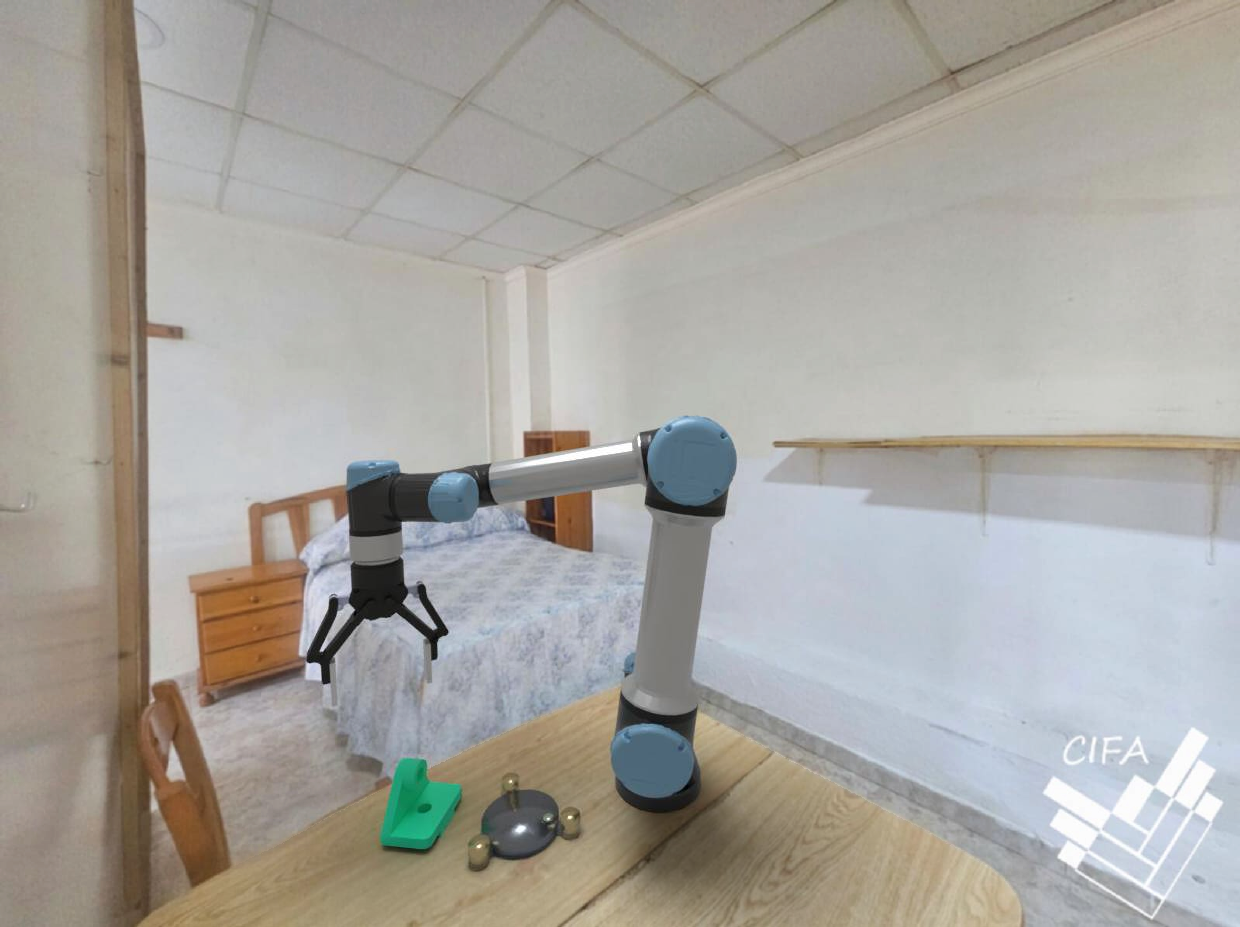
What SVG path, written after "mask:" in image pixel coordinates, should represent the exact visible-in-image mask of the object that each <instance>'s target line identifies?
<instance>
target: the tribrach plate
mask: <svg viewBox="0 0 1240 927" xmlns="http://www.w3.org/2000/svg"><path fill="white" fill-rule="evenodd" d="M500 781H501V782H500V783H501V786H500V788H501V795H500V796H499V797H498V798H496V799H494V801H492V802H491V803H490V804H489V805H488V806H487V808H485V811H484V812H483V814H482V816H481V819H480V820H481V821H480V822H481V823H480V832H481V833H480V834H477V835H475V836H473V837H472V838H470V839H469V841H468V844H467V845H468V846H467V847H468V848H467V852H468V854H467V856H468V867H469V869H470V870H471V871H473V872H479V871H480V872H481V871H483V870H485V869H486V868H487V867H488V866H489V865H490V863H491V859H492V858H493V857H497V858H499V859H503V860H509V861H510V860H511V861H512V860H513V861H514V860H522V859H523V860H524V859H526V858H527V859H528V858H530V857H532V856H534V855H538V854H539V853H541V852H543V850H545V849H547V848H548V847H549V846H550V845H551V844H552V843H553V842H554V841H555V838H556V837H557V836H561V837H562V838H563V839H565V840H568V841H570V840H571V841H572V840H575V839H577V838H578V837H579V836H580V835H581V812H580V810H579V808H577V807H575V806H569V807H568V806H567V807H565V808H563V809H562V810H561V812H560V810H559V805H558V803H557V801H556V800H555V798H553V797H552V796H551V795H549V794H548V793H546V792H544V791H542V790H537V789H530V788H529V789H528V788H527V789H520V776H519V774H518V773H516V772H507V773H506V774H503V776H501V779H500Z"/></svg>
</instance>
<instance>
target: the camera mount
mask: <svg viewBox="0 0 1240 927" xmlns="http://www.w3.org/2000/svg"><path fill="white" fill-rule="evenodd" d="M427 775H428V763H427V760H426V759H422V758H410V757H403V758H402V759H400V761H399V762H398V764H397V765H396V768H395V771H394V774H393V778H392V783H391V787H390V791H389V796H388V797H389V798H388V801H387V804H386V805H387V806H386V809H385V813H384V818H383V822H382V826H381V831H380V845H381V846H389V847H398V848H399V847H400V848H405V849H406V848H408V849H409V848H410V849H418V850H427V849H429V848H430V847H431V846H433V844H434V842H435V841H436V839H437V837H442V835H443V833H444V832H445V831H446V828H447V826H448V825H449V824H450V822H451V820H452V819H453V817H454V815H455V808H456V807H457V806H458V803H459V802H460V800H461V799H462V795H463V794H462V785H461V784H459V783H449V782H437V781H430V780H429V778H428V777H427Z"/></svg>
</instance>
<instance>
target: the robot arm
mask: <svg viewBox="0 0 1240 927" xmlns="http://www.w3.org/2000/svg"><path fill="white" fill-rule="evenodd" d="M737 458H738V457H737V450H736V448H735V443H734V441H733V439H732V438H731V436H730V434H729V433H728V432H727V430H726V429H725V428H723V426H721V425H720V424H719V423H718V422H716V421H715V420H712V419H711V418H709V417H705V416H700V415H687V414H686V415H682V416H678V417H676V418H673V419H671V420H670V421H667V423H665V424H664V425H662V426H661V427H658V428H655V429H651V430H644V431H639V432H638V433H636V435H635V436H634V438H632V439H627V440H626V439H625V440H621V441H615V442H610V443H603V444H597V445H591V446H585V447H579V448H574V449H566V450H562V451H561V450H560V451H555V452H549V453H543V454H537V455H532V456H531V455H530V456H525V457H519V458H513V459H505V460H501V461H495V462H489V463H484V464H482V463H481V464H473V465H468V466H463V467H459V468H453V469H450V470H444V471H438V472H424V473H423V472H422V473H421V472H419V473H407V472H401V468H400V464H399V462H398V461H397V460H394V459H393V460H392V459H390V460H389V459H378V460H377V459H373V460H370V459H369V460H358V461H353V462H351V463H349V464H348V466H347V467H346V489H345V493H346V494H345V495H346V503H347V512H348V513H347V514H348V515H347V516H348V544H349V545H348V546H349V547H348V548H349V559H350V560H351V561H352V563H351V564H350V566H349V567H350V582H351V586H350V588H351V590H350V593H349V594H348V595H337V594H336V593H332V594H330V595H329V596H328V606H327V607H328V608H327V611H326V613H325V614H324V617H323V618H322V621H321V622H320V625H319V627H318V629H317V631H316V634H315V635H314V637H313V639H312V641H311V643H310V646H309V648H308V649H307V652H306V657H305V661H306V664H313V663H314V664H319V666H320V676H321V677H320V678H321V684H322V685H323V686H325V685H330V694H331V695H330V697H331V708H333V707H337V706H338V704H339V703H338V686H337V669H336V668H337V667H336V666H337V664H336V657H335V656H336V654H337V653H338V652H339V650H340V649H341V647H342V646H344V645H345V643H346V641H347V640H348V639H349V638H350V636H352V634H353V632H354V631H355V630H356V629H357V628H358V627H359V626H360V625H361V624H362V622H364V620H367V621H368V620H369V622H372V621H376V620H379V619H389V618H392V616H394V615H395V614H397V615H398V616H399V617H401V618H402V619H404V620H405V621H406V622H407V623H408V624H410V626H412V627H413V628H414V629H415V630H417V631H418V632H419V633H420V634H422V635H423V636H424V638H423V639H422V643H423V646H422V647H423V648H422V649H423V667H424V668H423V670H424V672H423V673H424V680H425V681H426V684H432V683H433V670H432V661H437V659H438V657H439V654H438V653H439V651H438V642H439V640H440V639H441V638H443V637H446V636H448V634H449V633H450V631H449V629H448V628H447V626H446V624H445V623H444V621H443V620H442V618H441V616H440V615H439V613H438V611H437V610H436V608H435V607H434V605H433V604H432V602H431V601H430V599H429V596H428V593H427V592H428V591H427V588H426V585H425V584H424V582H423V581H422V580H419V581H416V583H415V584H412V585H411V584H410V585H407V586H406V584H405V566H404V559H403V558H402V557H401V556H402V555H403V554H404V547H403V546H404V545H403V543H404V542H403V527H402V526H403V524H402V523H406V522H407V523H408V522H409V523H412V522H413V523H443V524H452V523H464V522H468V521H470V520H471V519H473V517H474V515H475V514H476V513H477V510H478V509H482V508H489V507H495V506H498V505H499V506H500V505H504V504H510V503H519V502H524V501H531V500H538V499H543V498H553V497H557V496H563V495H572V494H577V493H578V494H579V493H585V492H591V491H598V490H605V489H610V488H611V489H612V488H618V487H624V486H631V485H637V484H640V485H642V486H643V487H645V497H644V504H643V505H644V507H645V509H646V510H647V511H648V513H649V514H650V515H651V516H652V517H651V518H652V524H651V532H650V539H649V540H650V541H649V548H648V552H647V553H648V554H647V560H646V562H647V563H646V569H645V578H644V586H643V593H642V594H643V595H642V602H641V609H640V616H639V626H638V633H637V640H636V647H635V651H634V652H631V653H629V654H628V655H627V656H626V658H625V659H624V666H623V670H622V672H623V673H624V674H623V675H624V676H623V677H624V678H623V680H622V681H621V685H620V691H619V692H620V693H619V699H618V707H617V715H616V722H615V731H614V734H613V739H612V740H611V743H610V748H609V749H610V763H611V766H612V770H613V773H614V776H615V777H614V779H615V780H614V783H615V787H616V791H617V792H618V793H619V795H620V797H621V798H622V799H623V800H625V802H627V803H628V804H630V805H631V806H633V807H635V808H638V809H641V810H644V811H648V812H653V813H665V812H673V811H677V810H681V809H683V808H685V807H687V806H689V805H690V804H691V803H693V802H694V801H695V800H696V799H697V797H698V796H699V793H700V791H701V787H702V785H701V784H702V782H701V780H702V779H701V778H702V776H701V775H702V774H701V768H700V765H699V762H698V758H697V756H696V752H695V749H694V741H695V740H694V739H695V733H696V732H695V730H696V725H697V724H696V722H697V717H698V710H699V702H700V697H699V692H698V691H697V689H696V688H695V687H694V686H693V684H692V683H691V682H692V676H693V668H694V661H695V655H696V648H697V647H696V646H697V641H698V640H697V639H698V635H699V634H698V632H699V626H700V619H701V611H702V605H703V596H704V588H705V582H706V576H707V575H706V574H707V570H708V569H707V568H708V562H709V561H708V560H709V554H710V547H711V546H710V545H711V540H712V533H713V528H714V527H715V525H716V524H717V523H719V522H720V521H722V520H723V519H724V518H725V517H726V510H727V505H728V497H729V490H730V485H731V484H732V483H733V480H734V476H735V475H736V470H737V462H738V460H737ZM408 595H412V597H413V598H414V599H418V600H419V601H420V603H421V606H423V608H424V610H425V611H426V613H427V614H428V615H429V617H430V619H431V621H432V622H433V623H434V625H435V627H436V628H435V629H433V628H431V626H429V625H428V624H427V623H426V622H424V621H423V620H422V619H421V618H419V616H417V615H416V614H415V613H414V612H413V611H412V610H410V609H409V608H408V607H407V605H405V604H404V601H405V600H406V598H407V597H408ZM347 604H349V605H350V606H351V608H352V609H354V610H353V612H352V613H351V614H350V616H349V617H348V619H347V620H346V622H345V623H344V624H343V625H342V627H341V628H340V629H339V630H338V632H337V633H336V634H335V636H334V637H333V638H332V639H331V641H329V643H328V644H327V646H326V647H325V648H324V650H323V651H321V649H322V648H323V645H324V643H325V641H326V639H327V637H328V635H329V632H330V631H331V628H332V627H333V624H334V622H335V620H336V618H337V617H338V616H337V614H338V612H340V611H343V609H344V607H345V605H347Z"/></svg>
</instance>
